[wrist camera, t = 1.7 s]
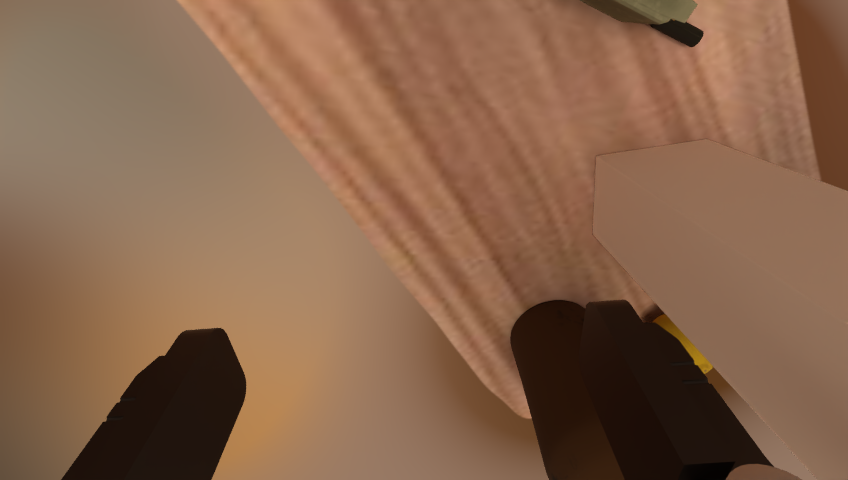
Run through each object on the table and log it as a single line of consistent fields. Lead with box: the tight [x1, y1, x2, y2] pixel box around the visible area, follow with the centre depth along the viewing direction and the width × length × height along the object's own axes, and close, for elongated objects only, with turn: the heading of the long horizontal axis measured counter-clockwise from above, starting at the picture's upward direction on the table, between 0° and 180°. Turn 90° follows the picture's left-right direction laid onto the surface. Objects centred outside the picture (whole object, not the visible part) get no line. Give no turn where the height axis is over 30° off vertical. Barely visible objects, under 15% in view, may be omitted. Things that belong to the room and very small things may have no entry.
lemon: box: [653, 314, 713, 374], centre depth 43 cm, size 6×6×8 cm
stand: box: [592, 139, 848, 480], centre depth 26 cm, size 8×10×32 cm
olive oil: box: [511, 301, 625, 480], centre depth 36 cm, size 11×11×25 cm
